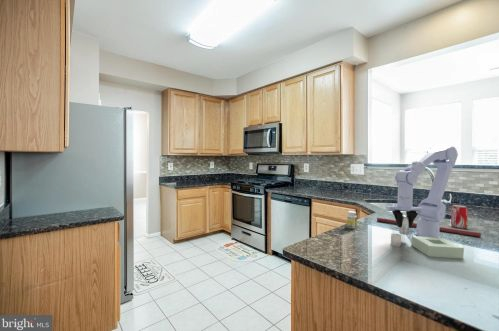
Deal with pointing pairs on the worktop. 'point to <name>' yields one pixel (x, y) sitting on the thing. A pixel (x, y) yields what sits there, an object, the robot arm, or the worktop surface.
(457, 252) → the hole block
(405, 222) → the long pin
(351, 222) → the supplement bottle
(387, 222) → the rolling pin
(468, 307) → the worktop surface
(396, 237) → the short pin
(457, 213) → the soda can
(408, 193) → the robot arm
